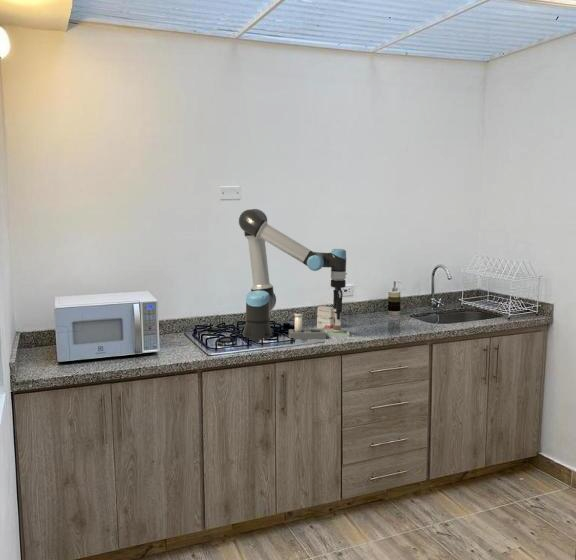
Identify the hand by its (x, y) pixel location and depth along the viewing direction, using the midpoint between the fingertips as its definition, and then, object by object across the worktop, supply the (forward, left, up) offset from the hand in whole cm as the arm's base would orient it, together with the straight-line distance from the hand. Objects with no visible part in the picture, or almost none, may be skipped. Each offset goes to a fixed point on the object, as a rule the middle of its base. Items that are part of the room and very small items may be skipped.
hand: (337, 324), depth 310 cm
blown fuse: (0, 0, -4) cm, 4 cm away
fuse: (-21, -5, -5) cm, 22 cm away
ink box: (-3, +19, -7) cm, 20 cm away
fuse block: (-16, -5, -6) cm, 18 cm away
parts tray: (0, 0, -6) cm, 6 cm away
